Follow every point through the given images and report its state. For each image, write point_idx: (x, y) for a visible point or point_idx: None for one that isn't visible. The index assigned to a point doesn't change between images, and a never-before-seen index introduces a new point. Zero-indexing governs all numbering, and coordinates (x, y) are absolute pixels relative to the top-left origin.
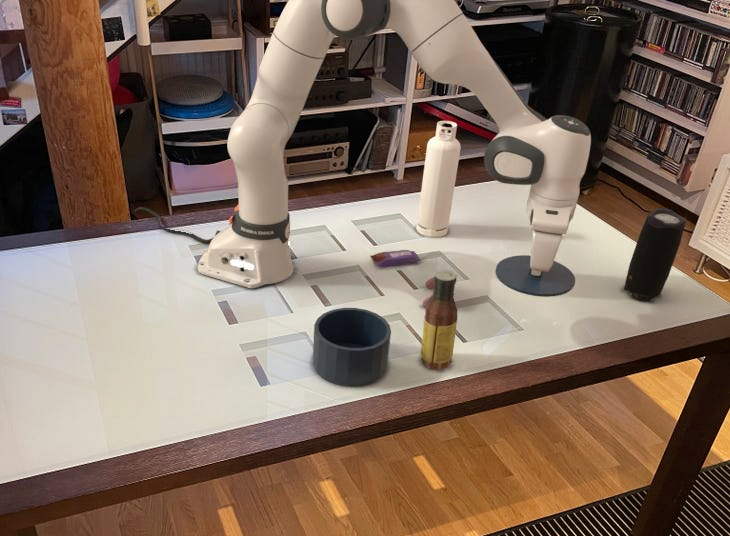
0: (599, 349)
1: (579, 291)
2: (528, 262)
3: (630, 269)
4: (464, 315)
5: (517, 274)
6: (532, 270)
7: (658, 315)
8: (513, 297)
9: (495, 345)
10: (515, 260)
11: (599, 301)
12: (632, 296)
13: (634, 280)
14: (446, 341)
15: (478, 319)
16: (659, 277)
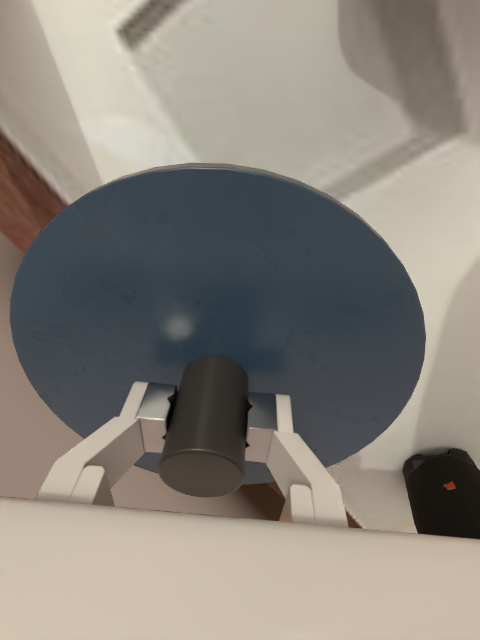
0: None
1: (456, 381)
2: (335, 361)
3: (467, 500)
4: (312, 27)
5: (177, 303)
6: (127, 399)
7: (355, 472)
8: (441, 226)
9: (147, 161)
10: (356, 301)
11: (407, 408)
12: (418, 456)
13: (435, 488)
14: None
15: (291, 95)
16: (417, 530)
